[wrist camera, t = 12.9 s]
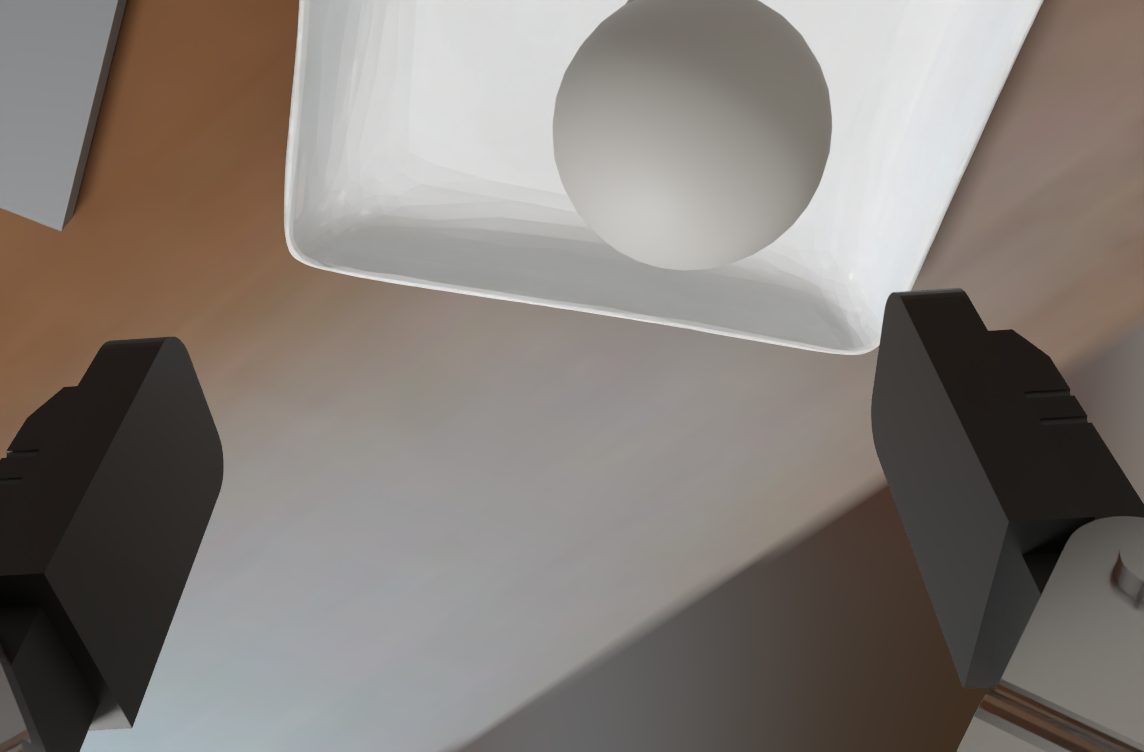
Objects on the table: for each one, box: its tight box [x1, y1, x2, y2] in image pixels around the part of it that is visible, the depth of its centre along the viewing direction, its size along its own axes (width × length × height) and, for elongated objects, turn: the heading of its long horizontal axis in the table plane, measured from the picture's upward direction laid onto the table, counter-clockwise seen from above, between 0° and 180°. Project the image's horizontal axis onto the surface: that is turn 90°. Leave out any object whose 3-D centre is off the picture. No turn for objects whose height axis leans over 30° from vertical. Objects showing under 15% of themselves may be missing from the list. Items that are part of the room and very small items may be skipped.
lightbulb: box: [553, 0, 832, 271], centre depth 25 cm, size 6×6×11 cm
